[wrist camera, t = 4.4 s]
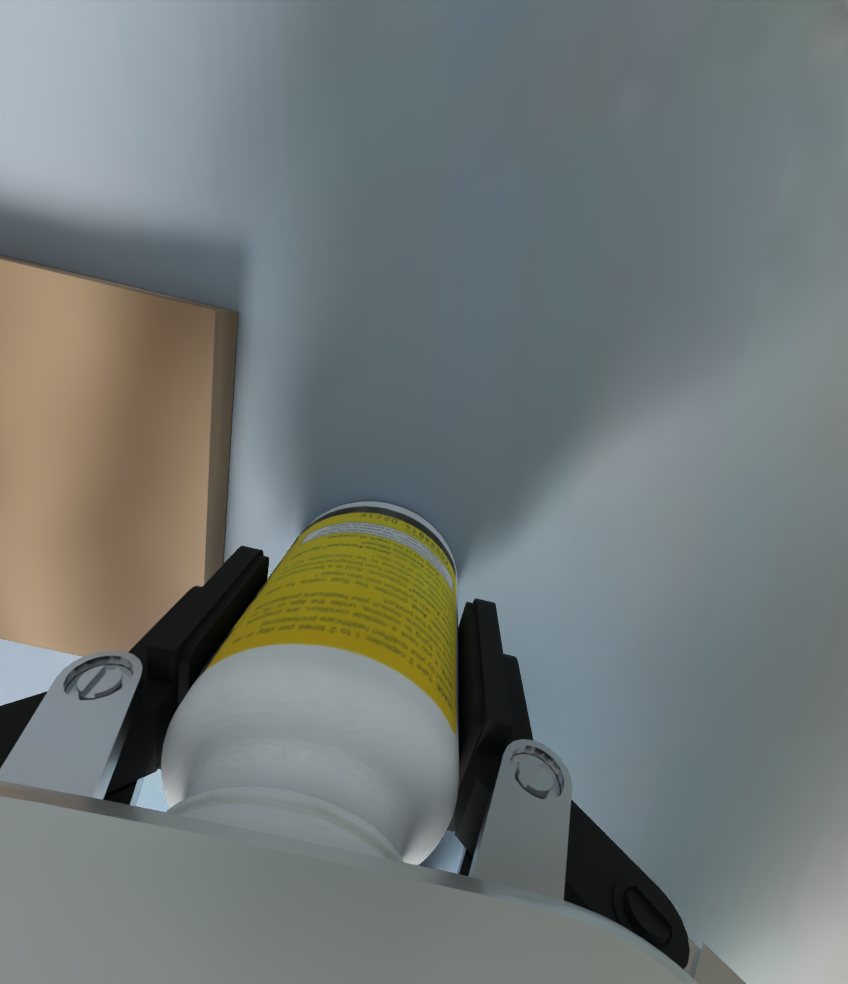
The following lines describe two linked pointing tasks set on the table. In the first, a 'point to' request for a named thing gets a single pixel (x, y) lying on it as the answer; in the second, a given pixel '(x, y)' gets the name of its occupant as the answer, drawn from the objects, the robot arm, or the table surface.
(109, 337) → the collar board
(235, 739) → the supplement bottle
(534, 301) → the table surface
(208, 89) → the table surface
